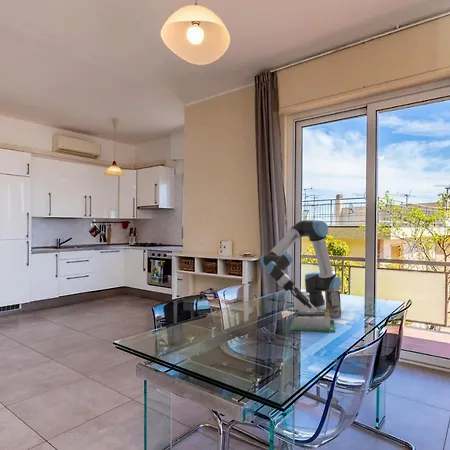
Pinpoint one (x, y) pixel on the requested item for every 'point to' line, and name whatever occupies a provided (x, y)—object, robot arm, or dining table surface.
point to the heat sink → (313, 322)
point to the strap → (311, 313)
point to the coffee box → (333, 302)
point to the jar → (299, 304)
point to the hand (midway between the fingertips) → (315, 311)
